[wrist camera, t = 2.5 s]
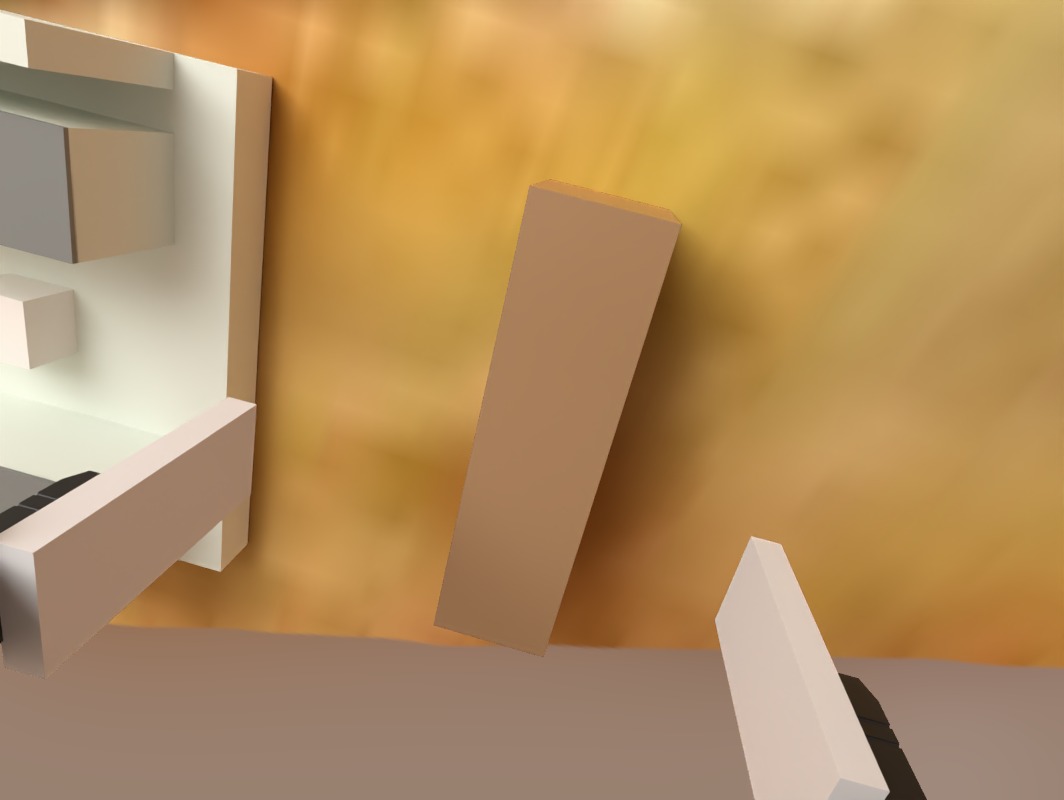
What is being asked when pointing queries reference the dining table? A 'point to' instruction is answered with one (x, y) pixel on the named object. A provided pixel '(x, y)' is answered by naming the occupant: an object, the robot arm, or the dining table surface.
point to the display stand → (124, 252)
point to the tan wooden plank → (551, 406)
